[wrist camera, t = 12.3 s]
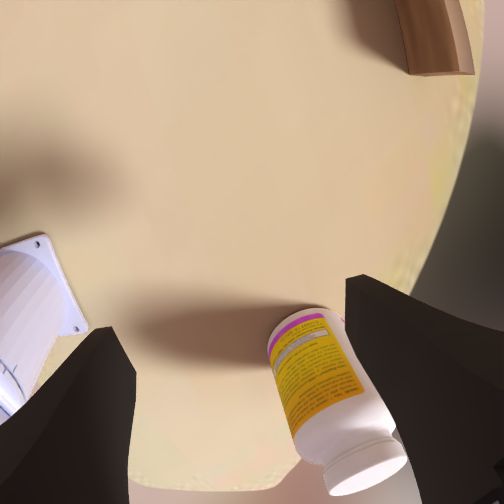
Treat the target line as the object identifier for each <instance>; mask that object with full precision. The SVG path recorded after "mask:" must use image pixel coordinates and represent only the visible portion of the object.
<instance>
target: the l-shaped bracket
mask: <svg viewBox="0 0 504 504" xmlns="http://www.w3.org/2000/svg"><path fill="white" fill-rule="evenodd" d="M394 2H395V6H396V10H397V14H398V18H399V22H400V26H401V31H402V35H403V40H404V45H405V50H406V56H407V62H408V68H409V75H416V76H442V75H475V71H474V64H473V58H472V53H471V47H470V42H469V38H468V33H467V29H466V25H465V21H464V17H463V13H462V9H461V6H460V2H459V0H394Z"/></svg>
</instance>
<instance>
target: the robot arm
mask: <svg viewBox="0 0 504 504" xmlns="http://www.w3.org/2000/svg"><path fill="white" fill-rule="evenodd" d="M36 241H38V242H39V243H40V246H39V245H38V244H37V242H36ZM76 327H78V328H79V329H78V328H76ZM88 329H89V326H88V324H87V322H86V320H85V318H84V316H83V314H82V312H81V310H80V308H79V306H78V304H77V302H76V300H75V298H74V296H73V293H72V291H71V289H70V287H69V285H68V283H67V280H66V278H65V276H64V273H63V271H62V269H61V266H60V264H59V262H58V259H57V257H56V254H55V252H54V249H53V246H52V244H51V241H50V239H49V237H48V236H47V235H46V234H41V235H37V236H34V237H31V238H29V239H26V240H23V241H20V242H17V243H14V244H11V245H8V246H6V247H3V248H0V504H129V494H128V455H129V446H130V438H131V431H132V423H133V416H134V409H135V402H136V371H135V369H134V367H133V365H132V364H131V362H130V360H129V358H128V357H127V355H126V353H125V351H124V349H123V347H122V346H121V344H120V342H119V340H118V338H117V336H116V334H115V332H114V330H113V328H112V326H111V327H105V328H98V329H95V330H93V331H92V332H91V333H90V334H89V335H88V336H87V337H86V338H85V339H84V340H83V341H82V342H81V343H80V344H79V346H78V347H77V348H76V349H75V350H74V351H73V352H72V353H71V354H70V355H69V357H68V358H67V359H66V360H65V361H64V362H63V363H62V364H61V366H60V367H59V368H58V369H57V370H56V371H55V372H54V374H53V375H52V376H51V377H50V378H49V379H48V380H47V381H46V382H45V383H44V384H43V385H42V386H41V387H40V389H39V390H38V391H37V392H36V393H35V394H34V395H33V396H32V397H31V398H30V399H29V397H30V395H31V392H32V390H33V388H34V385H35V383H36V381H37V379H38V376H39V374H40V372H41V370H42V368H43V365H44V363H45V361H46V359H47V357H48V355H49V353H50V351H51V349H52V347H53V345H54V343H55V341H56V339H57V337H60V336H68V335H76V334H83V333H86V332H87V331H88ZM345 332H346V335H347V337H348V339H349V342H350V344H351V346H352V348H353V351H354V353H355V355H356V357H357V359H358V360H359V362H360V364H361V365H362V367H363V369H364V370H365V372H366V374H367V375H368V377H369V379H370V380H371V382H372V383H373V385H374V387H375V388H376V390H377V392H378V393H379V395H380V397H381V398H382V400H383V402H384V403H385V405H386V407H387V409H388V410H389V412H390V414H391V416H392V418H393V420H394V422H395V425H396V427H397V429H398V432H399V434H400V437H401V439H402V441H403V444H404V446H405V449H406V452H407V455H408V457H409V460H410V463H411V465H412V469H413V472H414V475H415V478H416V482H417V485H418V488H419V492H420V496H421V500H422V504H504V332H502V331H498V330H494V329H491V328H487V327H484V326H481V325H478V324H475V323H472V322H468V321H466V320H463V319H460V318H457V317H455V316H452V315H450V314H448V313H445V312H443V311H441V310H438V309H436V308H434V307H431V306H429V305H427V304H425V303H423V302H421V301H418V300H416V299H414V298H412V297H410V296H408V295H406V294H404V293H402V292H400V291H398V290H396V289H394V288H392V287H390V286H388V285H386V284H384V283H382V282H380V281H378V280H376V279H374V278H372V277H369V276H367V275H364V274H362V275H358V276H355V277H351V278H347V279H346V297H345Z"/></svg>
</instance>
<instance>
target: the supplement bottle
mask: <svg viewBox="0 0 504 504" xmlns="http://www.w3.org/2000/svg"><path fill="white" fill-rule="evenodd" d="M267 352H268V357H269V361H270V364H271V368H272V371H273V374H274V378H275V381H276V385H277V388H278V391H279V395H280V398H281V401H282V405H283V408H284V411H285V415H286V418H287V421H288V425H289V428H290V431H291V435H292V438H293V442H294V445H295V448H296V450H297V452H298V454H299V455H300V456H301V457H302V458H303V459H304V460H305V461H307V462H310V463H312V464H317V465H323V467H324V469H325V470H324V476H323V479H324V482H325V485H326V488H327V490H328V493H329V494H330V495H332V496H341V495H347V494H351V493H355V492H358V491H361V490H364V489H366V488H369V487H371V486H373V485H375V484H377V483H379V482H381V481H383V480H385V479H386V478H388V477H390V476H391V475H393V474H394V473H395V472H397V471H398V470H399V469H401V468H402V467H403V466H404V464H405V463H406V461H407V456H406V454H405V452H404V450H403V448H402V445H401V443H399V442H397V440H395V439H393V438H392V435H391V433H392V432H393V430H394V429H395V427H396V425H395V422H394V420H393V418H392V416H391V414H390V412H389V410H388V409H387V407H386V405H385V403H384V402H383V400H382V398H381V397H380V395H379V393H378V392H377V390H376V388H375V387H374V385H373V383H372V382H371V380H370V379H369V377H368V375H367V374H366V372H365V370H364V369H363V367H362V365H361V364H360V362H359V360H358V359H357V357H356V355H355V353H354V351H353V348H352V346H351V344H350V342H349V339H348V337H347V335H346V332H345V321H344V319H343V318H342V317H341V316H340V315H339V314H337V313H336V312H334V311H332V310H329V309H325V308H310V309H305V310H302V311H299V312H296V313H294V314H292V315H290V316H289V317H287V318H286V319H284V320H283V321H282V322H281V323H280V324H279V325H278V326H277V327H276V328H275V329H274V331H273V332H272V334H271V336H270V338H269V341H268V347H267Z"/></svg>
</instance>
